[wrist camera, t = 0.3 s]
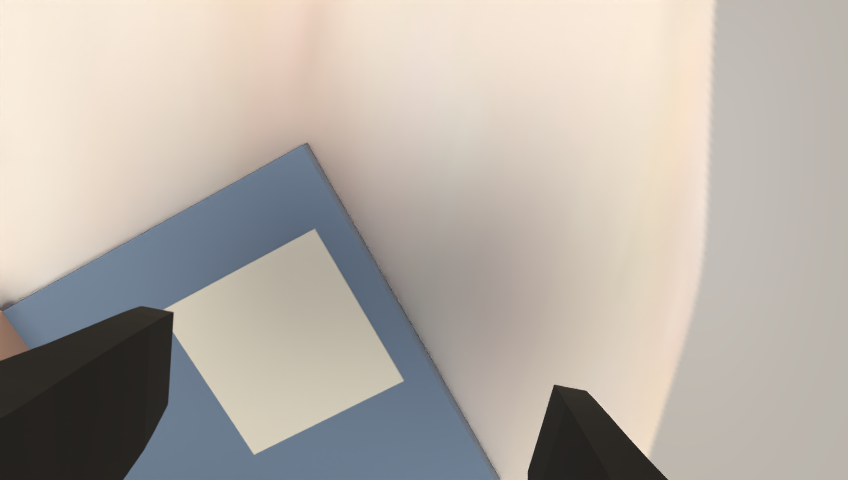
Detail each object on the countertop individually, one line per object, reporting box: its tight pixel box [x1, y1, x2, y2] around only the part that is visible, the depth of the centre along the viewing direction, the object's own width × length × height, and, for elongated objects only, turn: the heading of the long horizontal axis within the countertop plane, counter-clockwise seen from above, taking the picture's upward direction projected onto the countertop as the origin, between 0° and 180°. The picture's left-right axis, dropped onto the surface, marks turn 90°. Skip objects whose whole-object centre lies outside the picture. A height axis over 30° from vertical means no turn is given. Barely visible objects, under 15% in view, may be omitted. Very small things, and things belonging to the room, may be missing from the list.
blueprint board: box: [2, 143, 500, 480], centre depth 24 cm, size 18×14×1 cm
